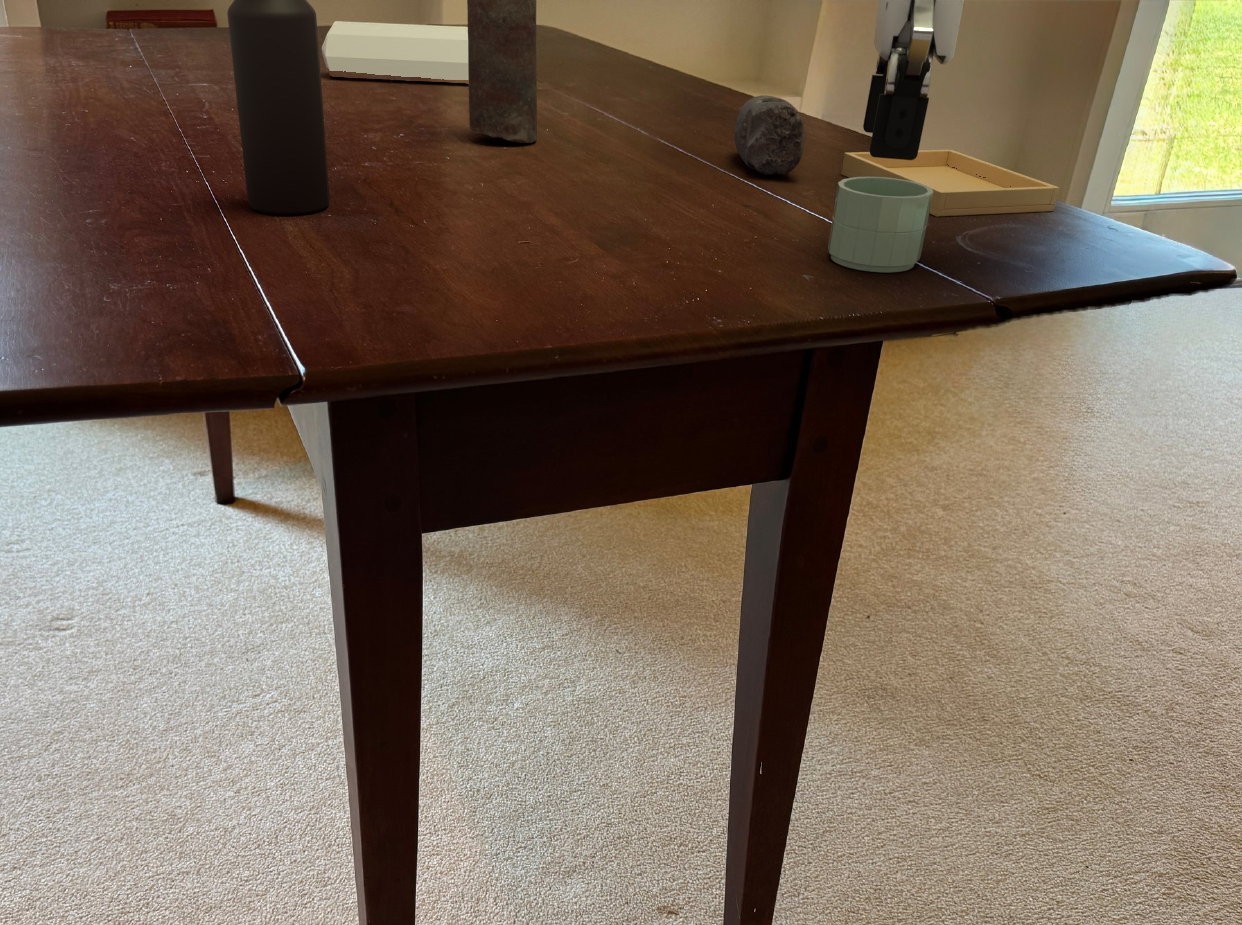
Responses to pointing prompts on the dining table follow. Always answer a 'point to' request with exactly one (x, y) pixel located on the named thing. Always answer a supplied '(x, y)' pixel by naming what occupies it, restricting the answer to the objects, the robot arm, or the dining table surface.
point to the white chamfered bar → (398, 50)
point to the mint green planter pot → (879, 223)
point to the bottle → (279, 105)
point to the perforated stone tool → (769, 135)
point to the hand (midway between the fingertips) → (887, 144)
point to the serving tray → (959, 182)
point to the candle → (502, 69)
